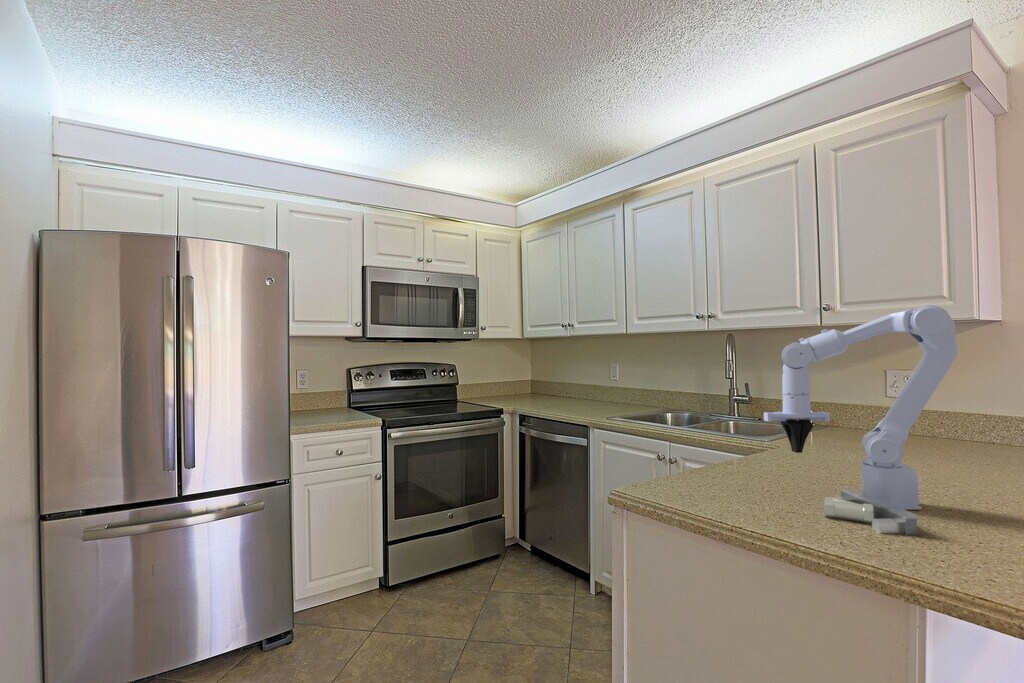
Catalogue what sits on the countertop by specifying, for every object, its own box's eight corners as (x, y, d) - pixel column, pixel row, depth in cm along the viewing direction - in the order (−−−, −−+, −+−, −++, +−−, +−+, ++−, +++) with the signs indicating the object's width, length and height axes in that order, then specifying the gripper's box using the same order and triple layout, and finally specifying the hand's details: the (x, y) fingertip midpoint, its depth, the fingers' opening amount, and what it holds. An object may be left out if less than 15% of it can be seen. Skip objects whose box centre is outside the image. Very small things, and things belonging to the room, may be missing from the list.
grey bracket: (853, 504, 109) (852, 488, 109) (920, 535, 91) (919, 515, 91) (822, 504, 109) (822, 488, 109) (884, 535, 91) (883, 516, 91)
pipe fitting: (825, 512, 106) (824, 519, 100) (825, 493, 106) (824, 499, 100) (872, 519, 101) (873, 526, 96) (871, 500, 101) (873, 506, 96)
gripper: (816, 392, 121) (817, 448, 121) (757, 392, 121) (757, 448, 121) (835, 395, 114) (836, 454, 114) (772, 395, 114) (772, 454, 114)
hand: (797, 451), depth 117 cm, fingers closed
